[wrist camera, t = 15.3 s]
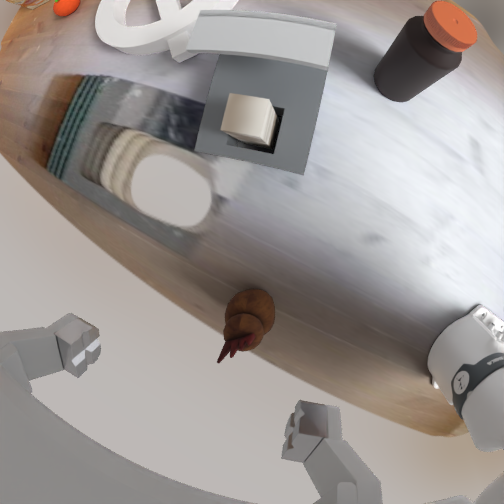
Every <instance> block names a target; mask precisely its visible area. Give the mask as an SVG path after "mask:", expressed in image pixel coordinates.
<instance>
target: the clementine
mask: <svg viewBox="0 0 504 504" xmlns="http://www.w3.org/2000/svg"><path fill="white" fill-rule="evenodd" d="M79 3H80V0H55V3H54V7H53V10H54V12H55V14H56V15H58V16H67V15H69V14H71V13H72V12H74V11H75V10H76V9H77V8H78V6H79Z"/></svg>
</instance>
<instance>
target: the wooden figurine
mask: <svg viewBox="0 0 504 504" xmlns="http://www.w3.org/2000/svg"><path fill="white" fill-rule="evenodd" d="M274 320H275V306H274V302H273V299H272V297H271V296H270V295H269V294H268V293H267V292H265V291H262V290H259V289H249V290H245V291H242V292H239V293H237V294H236V295H235V296H234V297H233V298H232V299H231V300H230V302H229V303H228V306H227V309H226V313H225V323H226V325H225V328H224V331H223V332H224V340H225V341H226V342H225V344H224V346H223V349H222V351H221V354H220V356H219V358H218V361H217V363H220V362H221V361H222V360H223V359H224V357H225V356H226V355H227V354H228V353H229V352H230V358H232V357H233V356H234V355H235V353H236V351H237V350H239V351H248V350H251V349H254V348H255V347H256V346H258V345H259V344H260V342H261V340H262V338H263V336H264V335H265V334H266V333H267V332H269V331H270V330H271V328H272V326H273V324H274Z"/></svg>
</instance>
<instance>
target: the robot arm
mask: <svg viewBox="0 0 504 504" xmlns="http://www.w3.org/2000/svg"><path fill="white" fill-rule="evenodd" d="M98 337H99V329H98V328H96V327H95V326H93V325H91V324H90V323H88V322H86V321H84V320H83V319H81V318H79V317H77V316H76V315H74V314H72V313H69V314H67V315H65V316H64V317H62V318H61V319H59V320H58V321H56V322H55V323H53V324H52V325H50V326H49V327H47V328H44V327H41V328H32V329H23V330H14V331H4V332H0V504H256V503H250V502H245V501H241V500H237V499H233V498H229V497H225V496H221V495H217V494H214V493H211V492H207V491H204V490H201V489H198V488H195V487H192V486H188V485H186V484H183V483H181V482H178V481H175V480H172V479H170V478H168V477H165V476H163V475H160V474H158V473H156V472H153V471H151V470H149V469H147V468H144V467H142V466H140V465H138V464H136V463H134V462H132V461H130V460H128V459H126V458H124V457H122V456H120V455H118V454H116V453H115V452H113V451H111V450H109V449H108V448H106V447H104V446H102V445H101V444H99V443H98V442H96V441H94V440H93V439H91V438H89V437H88V436H86V435H85V434H83V433H82V432H80V431H79V430H77V429H76V428H74V427H73V426H71V425H70V424H69V423H67V422H66V421H64V420H63V419H62V418H60V417H59V416H58V415H56V414H55V413H53V412H52V411H51V410H50V409H49V408H47V407H46V406H45V405H44V404H42V403H41V402H40V401H39V400H38V399H36V398H35V397H34V396H33V395H32V394H31V392H32V387H31V385H30V382H29V380H32V379H36V378H39V377H42V376H46V375H49V374H52V373H56V372H59V371H61V370H66V371H68V372H69V373H71V374H72V375H74V376H76V377H77V378H79V377H80V376H81V375H82V374H83V373H84V372H85V371H86V370H87V365H89V364H93V363H94V362H95V361H96V360H97V359H98V357H99V355H100V352H101V345H100V343H99V341H98V339H97V338H98ZM428 369H429V371H430V373H431V374H432V377H433V378H432V384H433V386H434V388H440V390H441V392H442V393H443V395H444V396H445V398H446V399H447V401H448V402H449V404H450V405H454V407H455V410H456V412H457V413H458V415H459V416H460V418H461V419H463V420H464V421H465V424H466V426H467V428H468V430H469V433H470V435H471V437H472V440H473V442H474V444H475V446H476V448H477V449H479V450H481V451H484V452H491V451H496V450H499V449H503V450H504V321H503V320H501V319H500V318H499V317H497V316H496V315H495V314H493V313H492V312H491V311H489V310H488V309H487V308H485V307H484V306H483V305H478V306H477V307H475V308H474V309H473V310H472V311H471V312H470V313H469V314H468V315H466V316H464V317H462V318H460V319H458V320H456V321H455V322H453V323H452V324H451V325H449V326H448V327H447V328H446V329H445V330H444V331H443V332H442V333H441V334H440V335H439V337H438V338H437V339H436V341H435V342H434V344H433V346H432V348H431V350H430V353H429V356H428ZM285 437H286V441H285V443H284V444H283V450H282V457H281V458H282V459H286V460H291V461H297V462H302V463H303V464H304V466H305V468H306V470H307V472H308V474H309V476H310V477H311V479H312V481H313V483H314V485H315V487H316V489H317V491H318V493H319V494H320V496H321V498H320V499H319V500H317V501H316V502H315V503H313V504H383V503H382V492H381V483H380V481H379V479H378V478H377V477H376V476H375V475H374V474H373V472H372V471H371V470H370V469H369V468H368V467H367V465H366V464H365V463H364V462H363V461H362V459H361V458H360V457H359V456H358V455H357V453H356V452H355V451H354V450H353V449H352V447H351V446H350V445H349V444H348V442H347V441H345V440H342V428H341V416H340V408H339V407H337V406H330V405H324V404H318V403H312V402H307V401H302V400H299V401H298V403H297V404H296V406H295V412H294V413H292V414H291V415H290V418H289V420H288V422H287V425H286V429H285ZM425 504H504V472H503V473H502V474H501V475H500V476H499V477H497V478H496V479H495V480H494V481H493V482H492V483H491V484H490V485H489V486H488V487H487V488H486V489H485V490H484V491H483V492H482V493H481V494H480V496H479V497H478V498H477V499H476V501H474V502H473V501H472V500H471V499H469V498H468V497H466V496H463V495H460V496H454V497H451V498H447V499H443V500H439V501H435V502H431V503H425Z"/></svg>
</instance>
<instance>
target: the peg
mask: <svg viewBox="0 0 504 504" xmlns="http://www.w3.org/2000/svg"><path fill="white" fill-rule="evenodd" d="M279 124H280V122H279V120H278V118H277V115H276V113H275V111H274V109H273V106H272V104H271V102H270V100H269V99H265V98H259V97H253V96H247V95H240V94H233V93H230V94H229V98H228V102H227V106H226V109H225V113H224V117H223V121H222V125H221V131H223V132H225V133H227V134H229V135H231V136H232V137H234V138H236V139H238V140H240V141H241V142H243V143H245V144H249V145H254V146H259V147H263V148H268V149H272V150H273V149H274V144H275V140H276V136H277V132H278V128H279Z"/></svg>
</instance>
